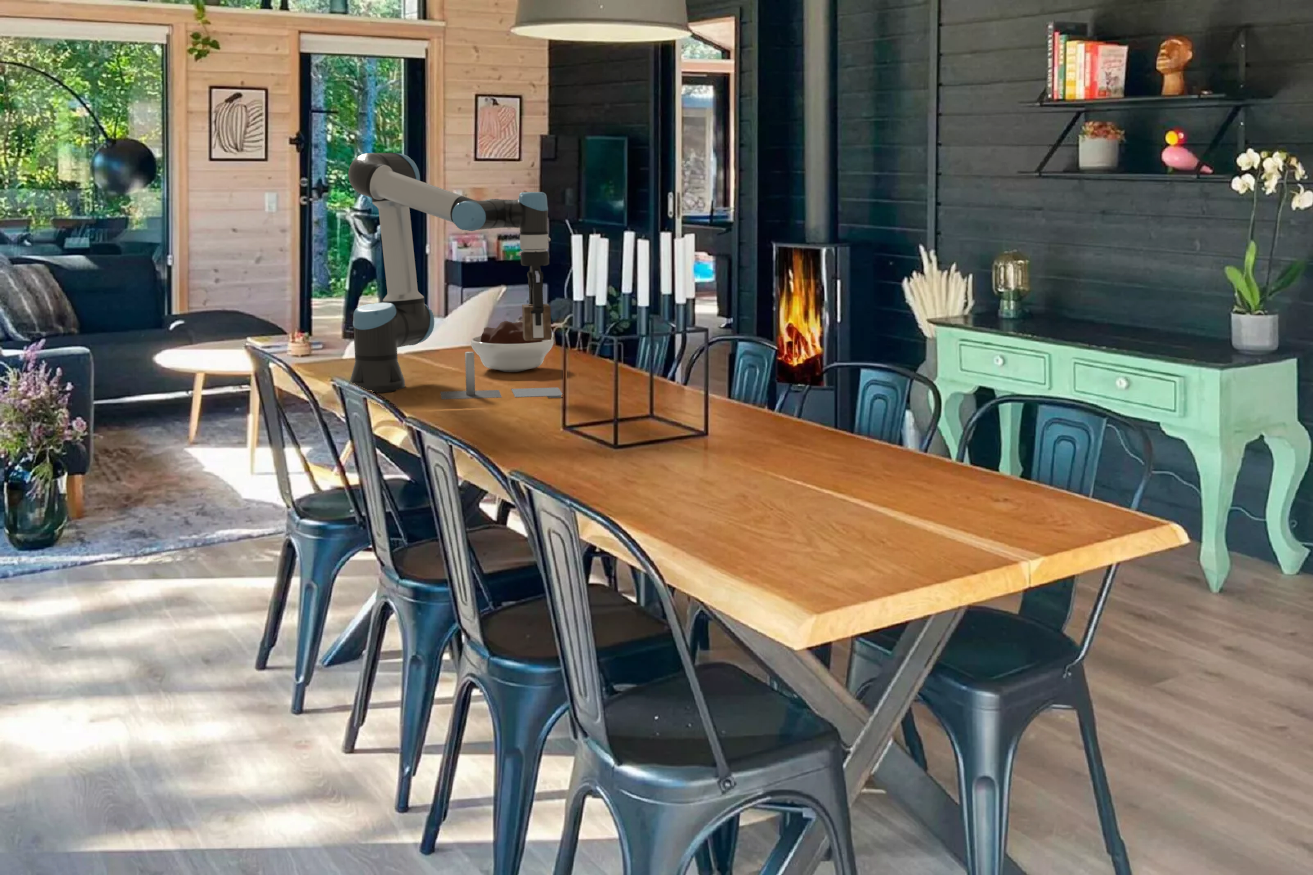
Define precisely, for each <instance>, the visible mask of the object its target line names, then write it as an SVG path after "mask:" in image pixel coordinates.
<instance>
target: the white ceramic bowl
mask: <svg viewBox="0 0 1313 875" xmlns="http://www.w3.org/2000/svg"><path fill="white" fill-rule="evenodd" d="M470 346H471V348H472V350H473V352H474V353H476V355H478V356H479V359H480V361H481V363H482V365H483V366H484V367H485V368H488V369H490V370H491V369H492V370H497V371H500V372H505V373H519V372H525V371H527V370H530V369H536V368H538V367H540V366H541V365H542V364H543V362H544V360H545V357H546V355H548V353H549V352H550V351H551V350H552V348H553V346H554V337H552V336H551V340H531V341H525V340H524V338H523V321H519V322H515V321H514V322H512V321H508V320H504V321H501V322H500V323H499V324H498V326H497V327H489V326H487V327H484V328H483V331H482V334H481V335H479V336H474V337H472V338H471V340H470Z"/></svg>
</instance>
